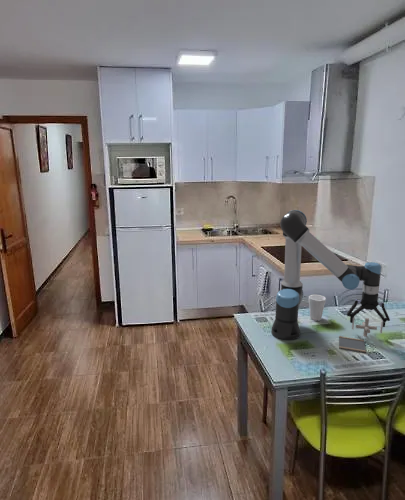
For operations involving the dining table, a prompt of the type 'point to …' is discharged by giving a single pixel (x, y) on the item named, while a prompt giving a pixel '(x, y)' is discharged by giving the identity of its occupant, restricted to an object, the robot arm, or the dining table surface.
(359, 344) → the mat
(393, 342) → the dining table surface
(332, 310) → the dining table surface
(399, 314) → the dining table surface
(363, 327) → the pipe connector
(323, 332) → the dining table surface
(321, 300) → the foam cup
